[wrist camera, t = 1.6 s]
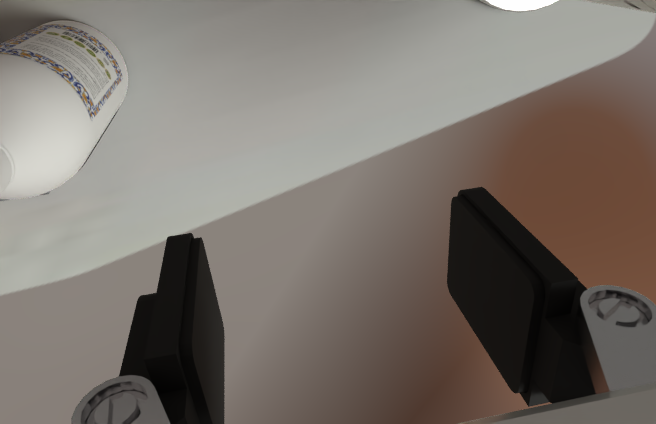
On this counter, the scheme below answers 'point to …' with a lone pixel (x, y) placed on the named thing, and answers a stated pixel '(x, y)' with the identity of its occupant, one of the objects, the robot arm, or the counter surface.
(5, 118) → the bath foam
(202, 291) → the robot arm
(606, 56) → the counter surface
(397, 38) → the counter surface
